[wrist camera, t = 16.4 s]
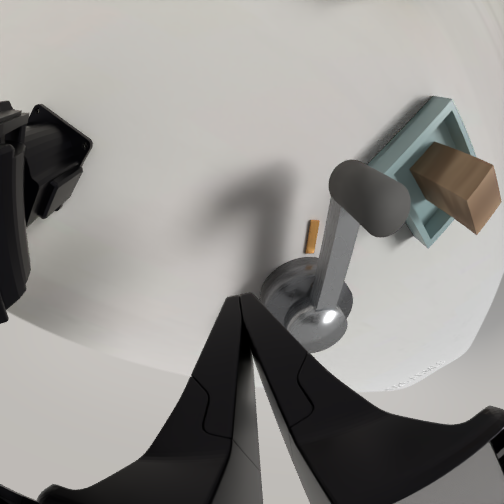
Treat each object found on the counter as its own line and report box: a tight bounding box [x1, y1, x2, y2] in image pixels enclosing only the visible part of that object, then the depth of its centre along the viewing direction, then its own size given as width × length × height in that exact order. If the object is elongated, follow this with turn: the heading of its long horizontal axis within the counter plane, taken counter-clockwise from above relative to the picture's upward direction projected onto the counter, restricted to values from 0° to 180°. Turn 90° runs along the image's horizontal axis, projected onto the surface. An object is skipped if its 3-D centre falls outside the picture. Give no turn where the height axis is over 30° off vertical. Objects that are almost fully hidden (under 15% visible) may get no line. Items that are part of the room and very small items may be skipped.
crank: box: [284, 160, 411, 353], centre depth 17 cm, size 16×5×5 cm, turn 176°
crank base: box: [260, 220, 353, 326], centre depth 23 cm, size 9×10×3 cm
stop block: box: [409, 141, 501, 235], centre depth 17 cm, size 4×4×7 cm
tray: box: [367, 96, 476, 248], centre depth 19 cm, size 10×10×2 cm
